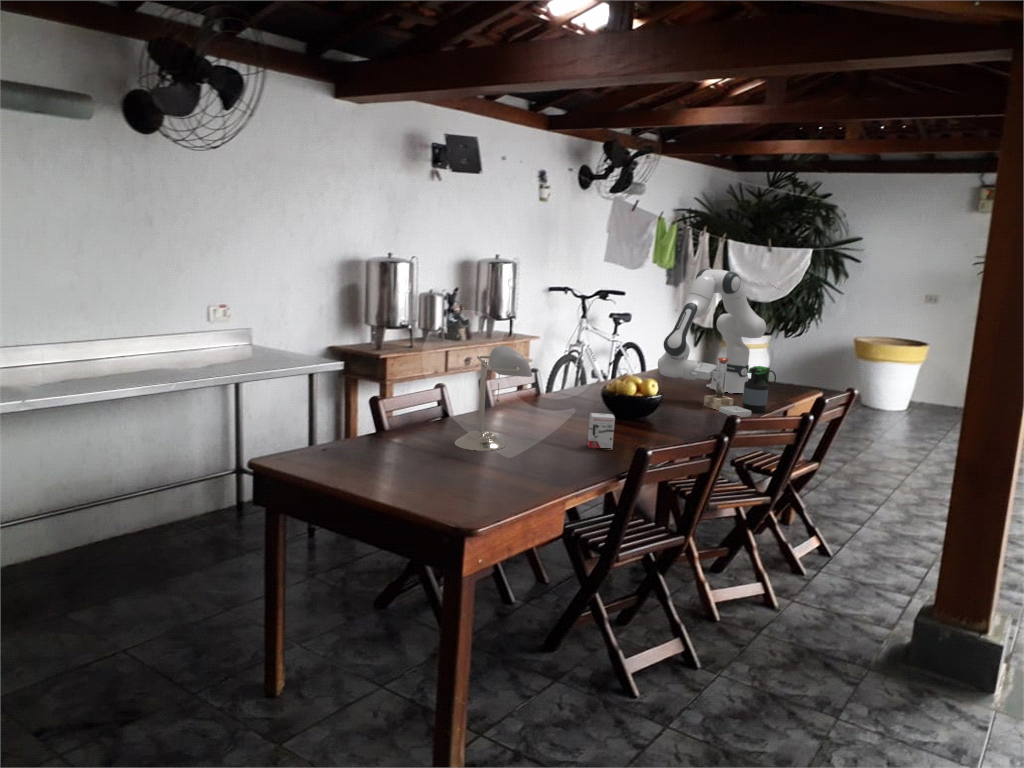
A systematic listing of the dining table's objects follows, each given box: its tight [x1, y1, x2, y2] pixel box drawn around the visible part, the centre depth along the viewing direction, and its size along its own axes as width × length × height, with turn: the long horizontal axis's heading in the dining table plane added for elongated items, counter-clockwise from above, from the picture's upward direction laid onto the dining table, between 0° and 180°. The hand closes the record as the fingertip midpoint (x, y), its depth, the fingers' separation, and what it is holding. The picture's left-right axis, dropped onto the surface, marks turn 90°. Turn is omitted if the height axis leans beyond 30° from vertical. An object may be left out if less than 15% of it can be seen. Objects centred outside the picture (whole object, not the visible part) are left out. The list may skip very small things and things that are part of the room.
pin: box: [715, 357, 729, 396], centre depth 361 cm, size 5×5×17 cm
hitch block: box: [703, 394, 734, 411], centre depth 363 cm, size 9×9×5 cm
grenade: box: [741, 365, 777, 414], centre depth 361 cm, size 11×13×20 cm
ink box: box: [587, 412, 616, 450], centre depth 284 cm, size 9×5×12 cm, turn 90°
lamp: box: [454, 345, 533, 452], centre depth 278 cm, size 26×24×34 cm
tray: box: [718, 405, 752, 418], centre depth 351 cm, size 10×10×2 cm
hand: (723, 373), depth 360 cm, fingers closed on pin, 4 cm apart
